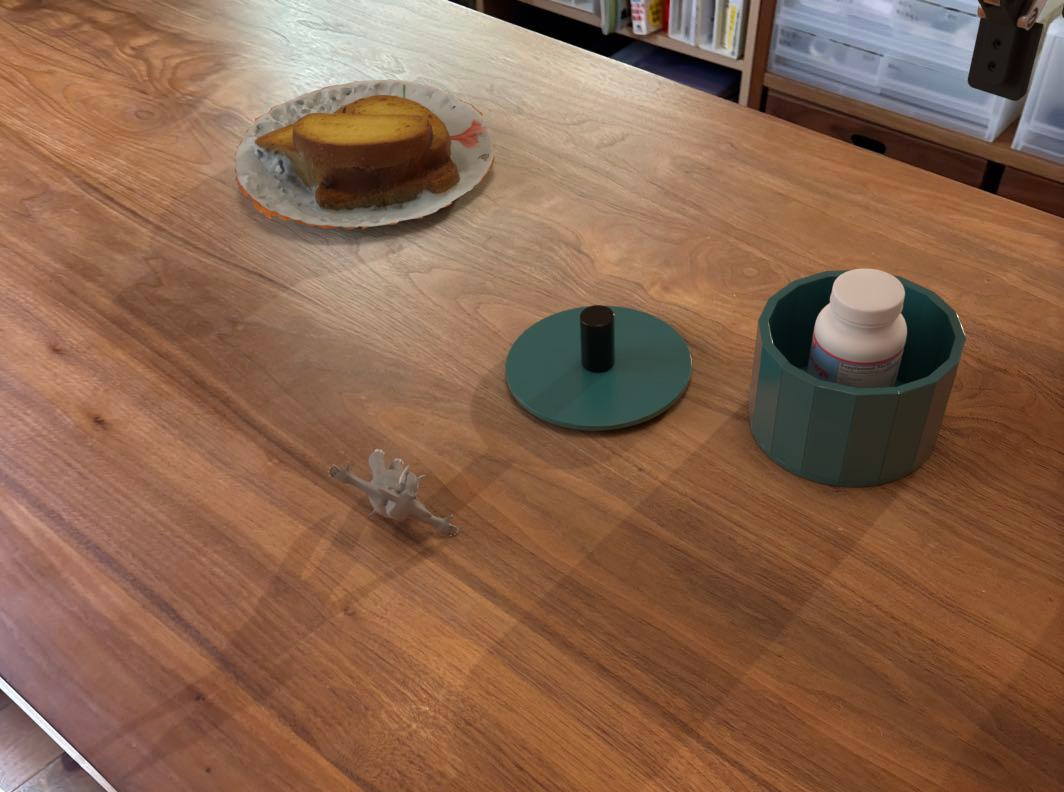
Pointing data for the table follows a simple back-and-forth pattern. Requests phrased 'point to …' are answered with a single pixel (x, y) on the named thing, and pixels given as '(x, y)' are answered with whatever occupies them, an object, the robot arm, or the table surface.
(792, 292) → the pot
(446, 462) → the table surface
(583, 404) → the lid
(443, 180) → the food on plate
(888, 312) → the pill bottle
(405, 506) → the grey monster figurine
